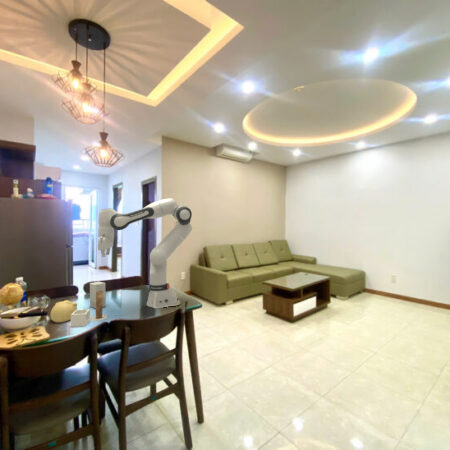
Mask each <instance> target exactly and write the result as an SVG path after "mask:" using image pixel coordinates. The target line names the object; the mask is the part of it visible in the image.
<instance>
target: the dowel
mask: <svg viewBox="0 0 450 450" xmlns="http://www.w3.org/2000/svg"><path fill="white" fill-rule="evenodd" d="M103 308H104V307H103V291H97V292H96V309H95V316H96V319H100V318H102V315H103Z"/></svg>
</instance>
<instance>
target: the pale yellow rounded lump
mask: <svg viewBox="0 0 450 450" xmlns="http://www.w3.org/2000/svg"><path fill="white" fill-rule="evenodd" d="M54 304H55V305H54V306H53V307H52V309H51V311H50V319H51V320H52V322H54V323H57V324H58V323H65V322H68V321H71V314H72V313H73V312H74V311H76V310H78V303H77V302H74V301H70V300H69V299H66V300H65V299H64V300H63V301H58V302H56V303H54Z"/></svg>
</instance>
